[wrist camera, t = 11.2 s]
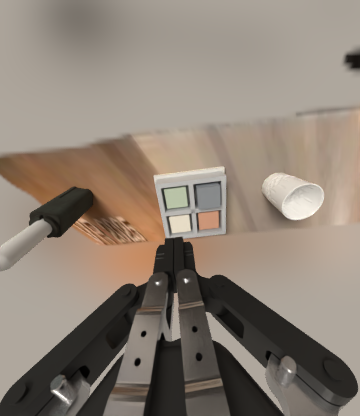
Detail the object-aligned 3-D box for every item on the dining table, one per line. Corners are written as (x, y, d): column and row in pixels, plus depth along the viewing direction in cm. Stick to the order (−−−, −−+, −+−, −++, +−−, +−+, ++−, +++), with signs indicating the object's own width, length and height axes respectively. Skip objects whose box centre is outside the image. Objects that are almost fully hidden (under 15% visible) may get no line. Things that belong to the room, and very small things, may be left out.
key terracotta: (215, 204, 41) (218, 211, 38) (215, 220, 44) (218, 227, 41) (196, 207, 42) (198, 213, 39) (198, 222, 44) (199, 229, 41)
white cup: (295, 169, 39) (331, 183, 30) (286, 199, 42) (315, 219, 34) (262, 170, 39) (288, 184, 30) (256, 200, 42) (277, 220, 33)
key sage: (184, 182, 38) (185, 186, 36) (187, 200, 41) (187, 206, 38) (164, 184, 39) (163, 189, 36) (167, 202, 41) (167, 208, 38)
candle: (92, 189, 40) (-13, 272, 18) (92, 207, 42) (0, 300, 20) (70, 185, 39) (-67, 265, 17) (72, 204, 42) (-47, 296, 19)
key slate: (216, 181, 36) (220, 186, 33) (217, 200, 38) (220, 207, 35) (195, 183, 36) (196, 189, 33) (196, 203, 39) (198, 209, 36)
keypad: (223, 166, 38) (229, 171, 34) (223, 224, 46) (228, 235, 41) (153, 175, 39) (151, 181, 34) (165, 231, 46) (164, 243, 42)
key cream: (188, 208, 42) (188, 214, 39) (189, 223, 44) (190, 231, 41) (169, 210, 42) (168, 216, 39) (172, 226, 44) (171, 233, 41)
